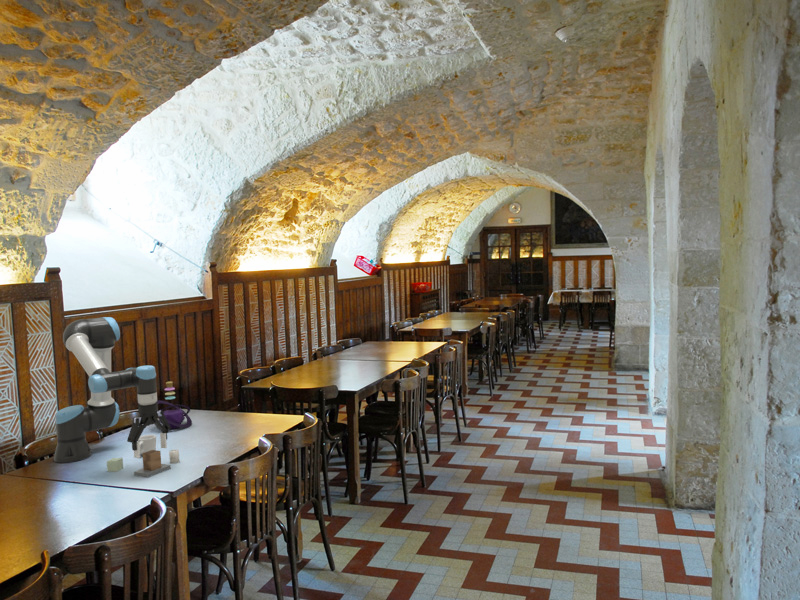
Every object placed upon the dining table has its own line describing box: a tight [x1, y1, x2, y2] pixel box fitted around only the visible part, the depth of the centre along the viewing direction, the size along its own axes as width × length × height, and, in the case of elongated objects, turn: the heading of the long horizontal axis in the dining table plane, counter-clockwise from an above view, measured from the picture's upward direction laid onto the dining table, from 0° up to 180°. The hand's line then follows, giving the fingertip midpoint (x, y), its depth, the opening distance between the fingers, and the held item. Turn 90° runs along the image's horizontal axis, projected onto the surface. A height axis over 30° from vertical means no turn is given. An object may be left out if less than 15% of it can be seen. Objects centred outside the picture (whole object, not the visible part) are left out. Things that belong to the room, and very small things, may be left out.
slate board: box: [133, 463, 172, 479], centre depth 260 cm, size 8×12×2 cm, turn 152°
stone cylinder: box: [168, 449, 180, 465], centre depth 272 cm, size 4×4×5 cm
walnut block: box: [141, 449, 162, 471], centre depth 260 cm, size 5×5×7 cm
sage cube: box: [106, 457, 124, 473], centre depth 265 cm, size 4×4×4 cm
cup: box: [137, 434, 157, 455], centre depth 285 cm, size 11×8×8 cm
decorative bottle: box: [156, 380, 193, 430], centre depth 331 cm, size 22×21×25 cm
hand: (150, 452), depth 260 cm, fingers open, 13 cm apart
